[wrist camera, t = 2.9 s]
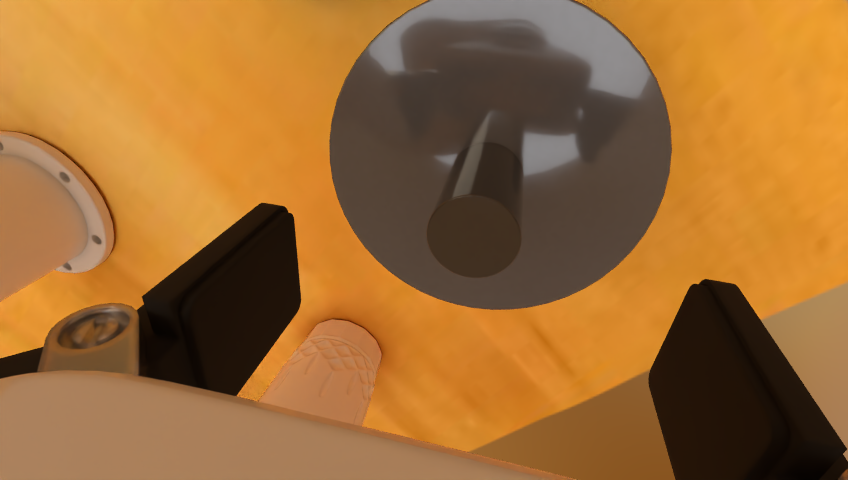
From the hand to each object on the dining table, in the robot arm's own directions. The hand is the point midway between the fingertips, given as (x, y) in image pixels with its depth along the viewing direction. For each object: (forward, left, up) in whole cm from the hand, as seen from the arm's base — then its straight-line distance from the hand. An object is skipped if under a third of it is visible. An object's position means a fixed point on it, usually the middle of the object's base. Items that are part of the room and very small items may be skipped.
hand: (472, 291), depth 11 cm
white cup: (-2, -24, -19) cm, 30 cm away
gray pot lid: (0, 0, -8) cm, 8 cm away
